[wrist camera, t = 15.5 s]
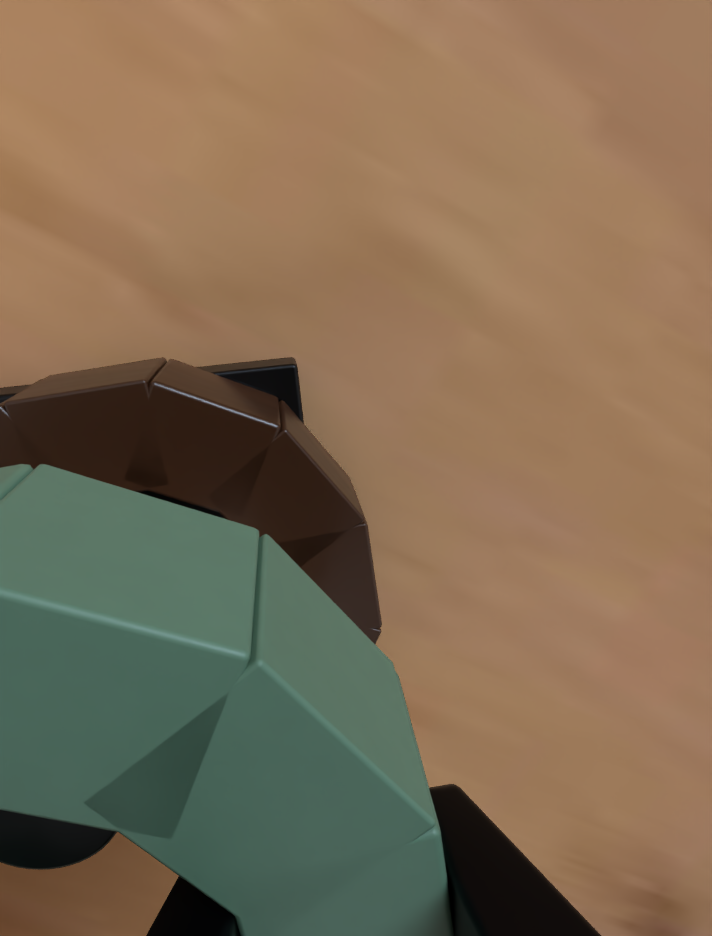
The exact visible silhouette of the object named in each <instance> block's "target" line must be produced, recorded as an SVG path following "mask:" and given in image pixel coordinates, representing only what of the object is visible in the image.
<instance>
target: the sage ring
mask: <svg viewBox="0 0 712 936" xmlns="http://www.w3.org/2000/svg"><path fill="white" fill-rule="evenodd" d="M0 810H4V811H10V812H15V813H20V814H26V815H31V816H36V817H42V818H47V819H52V820H58V821H63V822H68V823H73V824H79V825H84V826H89V827H95V828H100V829H105V830H111V831H116V832H119V833H121V834H122V835H124V836H125V837H126V838H128V839H129V840H130V841H132V842H133V843H135V844H136V845H137V846H139V847H140V848H141V849H143V850H144V851H146V852H147V853H148V854H150V855H151V856H153V857H154V858H155V859H157V860H158V861H159V862H161V863H162V864H164V865H165V866H166V867H168V868H169V869H170V870H172V871H173V872H175V873H176V874H177V875H179V876H180V877H182V878H183V879H184V880H186V881H187V882H188V883H190V884H191V885H193V886H194V887H195V888H197V889H198V890H199V891H201V892H202V893H204V894H205V895H206V896H208V897H209V898H211V899H212V900H213V901H215V902H216V903H217V904H219V905H220V906H222V907H223V908H224V909H226V910H227V911H229V912H230V913H231V914H233V915H234V916H235V918H236V922H237V925H238V928H239V932H240V935H241V936H454V927H453V916H452V909H451V902H450V894H449V887H448V880H447V873H446V866H445V859H444V851H443V844H442V837H441V830H440V827H439V823H438V819H437V816H436V812H435V808H434V805H433V801H432V797H431V794H430V790H429V786H428V783H427V779H426V775H425V771H424V768H423V764H422V760H421V757H420V753H419V749H418V746H417V742H416V738H415V735H414V731H413V727H412V724H411V720H410V716H409V713H408V709H407V705H406V702H405V698H404V694H403V691H402V687H401V683H400V680H399V676H398V675H397V673H396V672H395V669H394V665H393V663H392V661H391V660H390V659H389V658H388V657H387V656H386V655H385V654H384V653H383V652H382V651H381V650H380V649H379V648H378V647H377V646H376V645H375V644H374V643H373V642H372V641H371V640H370V639H369V638H368V637H367V636H366V635H365V634H364V633H363V632H362V631H361V630H360V629H359V628H358V626H357V625H356V624H355V623H354V622H353V621H352V620H351V619H350V618H349V617H348V616H347V615H346V614H345V613H344V612H343V611H342V610H341V609H340V608H339V607H338V606H337V605H336V604H335V603H334V602H333V601H332V600H331V599H330V598H329V597H328V596H327V595H326V594H325V593H324V592H323V590H322V589H321V588H320V587H319V586H318V585H317V584H316V583H315V582H314V581H313V580H312V579H311V578H310V577H309V576H308V575H307V574H306V573H305V572H304V571H303V570H302V569H301V568H300V567H299V566H298V565H297V564H296V563H295V562H294V561H293V560H292V559H291V558H290V557H289V555H288V554H287V553H286V552H285V551H284V550H283V549H282V548H281V547H280V546H279V545H278V544H277V543H276V542H275V541H274V540H273V539H272V538H271V537H270V536H269V535H267V534H265V535H262V536H261V537H260V538H259V531H258V530H257V529H256V528H253V527H250V526H247V525H243V524H240V523H237V522H234V521H230V520H227V519H224V518H220V517H217V516H214V515H211V514H207V513H204V512H201V511H197V510H194V509H191V508H187V507H184V506H181V505H178V504H174V503H171V502H168V501H164V500H161V499H158V498H155V497H151V496H148V495H145V494H141V493H138V492H135V491H132V490H128V489H125V488H122V487H118V486H115V485H112V484H109V483H105V482H102V481H99V480H95V479H92V478H89V477H85V476H82V475H79V474H76V473H72V472H69V471H66V470H62V469H59V468H56V467H53V466H49V465H46V464H40V465H39V466H37V467H36V468H35V469H34V470H33V468H32V467H31V465H27V464H19V465H13V466H7V467H2V468H0Z"/></svg>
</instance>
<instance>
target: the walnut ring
mask: <svg viewBox="0 0 712 936" xmlns="http://www.w3.org/2000/svg"><path fill="white" fill-rule="evenodd" d="M19 464H27V465H31V467H32V468H33V470H34V469H35V468H36V467H37V466H39V465H40V464H46V465H49V466H53V467H56V468H59V469H62V470H66V471H69V472H72V473H76V474H79V475H82V476H85V477H89V478H92V479H95V480H99V481H102V482H105V483H109V484H112V485H115V486H118V487H122V488H125V489H128V490H132V491H135V492H142V491H147V490H148V491H151V492H154V493H157V494H161V495H164V496H167V497H170V498H173V499H177V500H180V501H183V502H186V503H190V504H193V505H196V506H199V507H203V508H206V509H209V510H212V511H216V512H219V513H220V514H221V515H222V516H223V517H224V518H225V519H227V520H230V521H234V522H237V523H240V524H243V525H247V526H250V527H253V528H256V529H257V530H258V531H259V538H260V537H261V536H262V535H265V534H267V535H269V536H270V537H271V538H272V539H273V540H274V541H275V542H276V543H277V544H278V545H279V546H280V547H281V548H282V549H283V550H284V551H285V552H286V553H287V554H288V555H289V557H290V558H291V559H292V560H293V561H294V562H295V563H296V564H297V565H298V566H299V567H300V568H301V569H302V570H303V571H304V572H305V573H306V574H307V575H308V576H309V577H310V578H311V579H312V580H313V581H314V582H315V583H316V584H317V585H318V586H319V587H320V588H321V589H322V590H323V592H324V593H325V594H326V595H327V596H328V597H329V598H330V599H331V600H332V601H333V602H334V603H335V604H336V605H337V606H338V607H339V608H340V609H341V610H342V611H343V612H344V613H345V614H346V615H347V616H348V617H349V618H350V619H351V620H352V621H353V622H354V623H355V624H356V625H357V626H358V628H359V629H360V630H361V631H362V632H363V633H364V634H365V635H366V636H367V637H368V638H369V639H370V640H371V641H372V642H373V643H374V644H376V641H377V639H378V637H379V635H380V633H381V629H380V627H381V625H382V622H381V615H380V608H379V601H378V594H377V587H376V581H375V574H374V567H373V560H372V553H371V546H370V539H369V532H368V525H367V522H366V520H365V517H364V514H363V511H362V509H361V506H360V503H359V501H358V498H357V495H356V492H355V490H354V487H353V484H352V483H351V481H350V478H349V476H348V475H347V474H346V473H345V472H344V470H343V469H342V468H341V467H340V466H339V465H338V463H337V462H336V461H335V460H334V459H333V458H332V456H331V455H330V454H329V453H328V452H327V451H326V449H325V448H324V447H323V446H322V445H321V444H320V442H319V441H318V440H317V439H316V438H315V437H314V435H313V434H312V433H311V432H310V431H309V430H308V428H307V427H306V426H305V425H304V424H303V423H302V421H301V420H300V419H299V418H298V417H297V416H296V414H295V413H294V412H293V411H292V410H291V409H290V407H289V406H288V405H287V404H286V403H285V402H284V401H283V400H282V401H279V402H278V398H277V397H276V396H274V395H271V394H268V393H265V392H263V391H260V390H257V389H254V388H252V387H249V386H246V385H243V384H240V383H238V382H235V381H232V380H229V379H227V378H224V377H221V376H218V375H215V374H213V373H210V372H207V371H204V370H202V369H199V368H196V367H193V366H191V365H188V364H185V363H182V362H179V361H177V360H174V359H170V360H169V361H168V362H167V360H166V359H165V358H157V359H150V360H144V361H138V362H131V363H125V364H119V365H112V366H106V367H100V368H94V369H87V370H81V371H75V372H68V373H62V374H56V375H49V376H48V377H46V378H44V379H41V380H39V381H37V382H36V383H34V384H32V385H31V386H29V387H27V388H26V389H24V390H22V391H21V392H19V393H17V394H16V395H14V396H12V397H11V398H9V399H7V400H6V401H4V402H2V403H1V404H0V468H2V467H7V466H13V465H19Z"/></svg>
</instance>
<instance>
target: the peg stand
mask: <svg viewBox="0 0 712 936" xmlns="http://www.w3.org/2000/svg"><path fill="white" fill-rule="evenodd" d="M196 368H199V369H202V370H204V371H207V372H210V373H213V374H215V375H218V376H221V377H224V378H227V379H229V380H232V381H235V382H238V383H240V384H243V385H246V386H249V387H252V388H254V389H257V390H260V391H263V392H265V393H268V394H271V395H274V396H276V397H277V398H278V402H279V401H282V400H283V401H284V402H285V403H286V404H287V405H288V406H289V407H290V409H291V410H292V411H293V412H294V413H295V414H296V416H297V417H298V418H299V419H300V420H301V421H302V423H303V424H304V421H303V412H302V403H301V394H300V386H299V377H298V368H297V364H296V361H295V359H294V358H292V357H289V358H280V359H270V360H261V361H251V362H242V363H232V364H223V365H213V366H204V367H196ZM29 386H31V385H23V386H14V387H4V388H0V404H1V403H2V402H4V401H6V400H7V399H9V398H11V397H12V396H14V395H16V394H17V393H19V392H21V391H22V390H24V389H26V388H27V387H29ZM138 493H141V494H145V495H148V496H151V497H155V498H158V499H161V500H164V501H168V502H171V503H174V504H178V505H181V506H184V507H187V508H191V509H194V510H197V511H201V512H204V513H207V514H211V515H214V516H217V517H220V518H224V517H223V516H222V515H221V514H220V513H219V512H216V511H212V510H209V509H206V508H203V507H199V506H196V505H193V504H190V503H186V502H183V501H180V500H177V499H173V498H170V497H167V496H164V495H161V494H157V493H154V492H151V491H148V490H147V491H142V492H138ZM224 519H225V518H224ZM116 833H117V832H116V831H111V830H105V829H100V828H95V827H89V826H84V825H79V824H73V823H68V822H63V821H58V820H52V819H47V818H42V817H36V816H31V815H26V814H20V813H15V812H10V811H4V810H0V862H1V863H4V864H7V865H10V866H14V867H19V868H25V869H38V870H40V869H55V868H61V867H65V866H70V865H73V864H76V863H79V862H81V861H83V860H85V859H88V858H89V857H91V856H93V855H94V854H96V853H97V852H99V851H100V850H101V849H102V848H104V847H105V846H106V845H107V844H108V843H109V842H110V840H111V839H112V838H113V837H114V835H115V834H116Z"/></svg>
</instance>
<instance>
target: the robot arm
mask: <svg viewBox="0 0 712 936" xmlns="http://www.w3.org/2000/svg"><path fill="white" fill-rule="evenodd" d="M429 790H430V794H431V797H432V801H433V805H434V808H435V812H436V816H437V819H438V823H439V827H440V830H441V837H442V844H443V851H444V859H445V866H446V873H447V880H448V887H449V894H450V902H451V909H452V916H453V927H454V936H601V935H600V934H599V933H598V932H597V931H596V930H595V929H594V928H593V927H592V926H591V925H590V924H589V922H588V921H587V920H586V919H585V918H584V917H583V916H582V915H581V914H580V913H579V912H578V911H577V910H576V909H575V908H574V907H573V906H572V905H571V904H570V903H569V902H568V900H567V899H566V898H565V897H564V896H563V895H562V894H561V893H560V892H559V891H558V890H557V889H556V888H555V887H554V886H553V885H552V884H551V883H550V882H549V881H548V880H547V878H546V877H545V876H544V875H543V874H542V873H541V872H540V871H539V870H538V869H537V868H536V867H535V866H534V865H533V864H532V863H531V862H530V861H529V860H528V859H527V858H526V856H525V855H524V854H523V853H522V852H521V851H520V850H519V849H518V848H517V847H516V846H515V845H514V844H513V843H512V842H511V841H510V840H509V839H508V838H507V837H506V835H505V834H504V833H503V832H502V831H501V830H500V829H499V828H498V827H497V826H496V825H495V824H494V823H493V822H492V821H491V820H490V819H489V818H488V817H487V816H486V815H485V813H484V812H483V811H482V810H481V809H480V808H479V807H478V806H477V805H476V804H475V803H474V802H473V801H472V800H471V799H470V798H469V797H468V796H467V795H466V794H465V793H464V791H463V790H462V789H461V788H459V787H458V786H457V785H454V784H448V785H442V786H436V787H431V788H429ZM146 936H241V935H240V932H239V928H238V925H237V922H236V918H235V916H234V915H233V914H231V913H230V912H229V911H227V910H226V909H224V908H223V907H222V906H220V905H219V904H217V903H216V902H215V901H213V900H212V899H211V898H209V897H208V896H206V895H205V894H204V893H202V892H201V891H199V890H198V889H197V888H195V887H194V886H193V885H191V884H190V883H188V882H187V881H186V880H184V879H183V878H182V877H180V876H179V877H178V879H177V881H176V883H175V884H174V886H173V888H172V890H171V892H170V893H169V895H168V897H167V899H166V901H165V903H164V904H163V906H162V908H161V910H160V912H159V913H158V915H157V917H156V919H155V921H154V923H153V924H152V926H151V928H150V930H149V932H148V933H147V935H146Z"/></svg>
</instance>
